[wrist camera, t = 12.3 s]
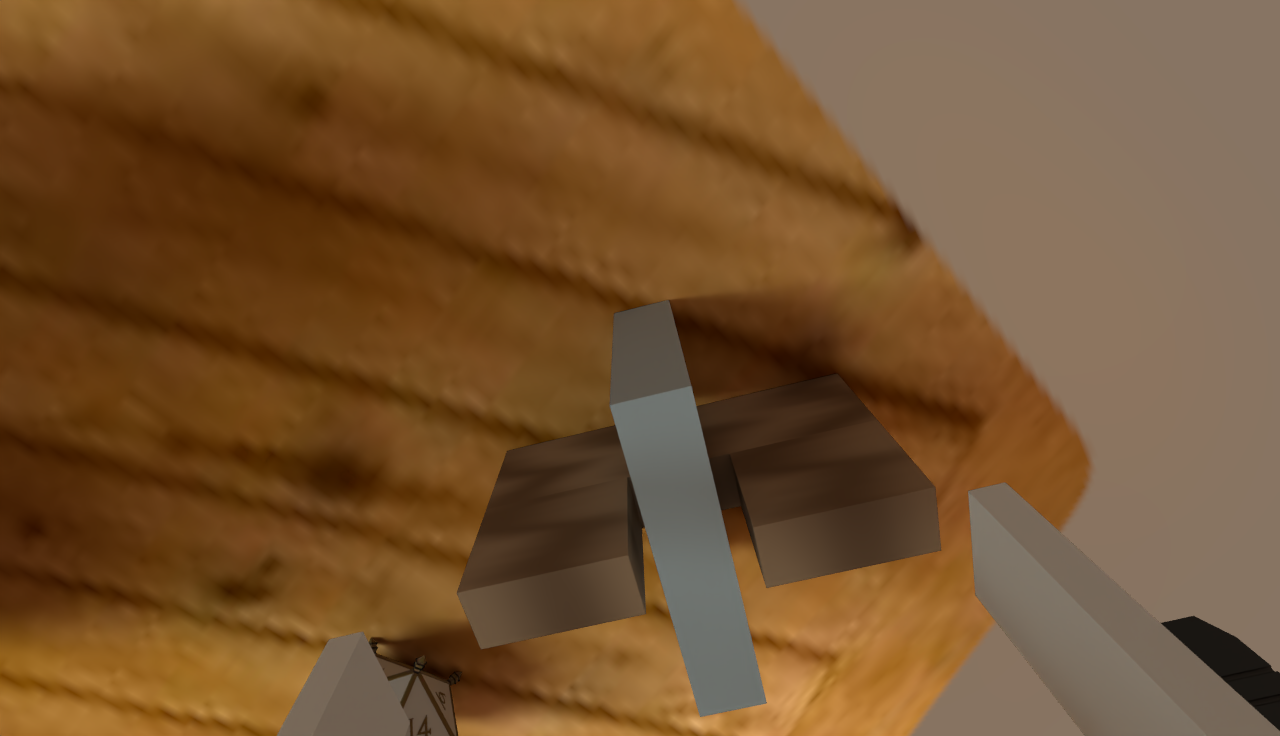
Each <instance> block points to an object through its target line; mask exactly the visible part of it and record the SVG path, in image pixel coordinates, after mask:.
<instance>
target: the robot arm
mask: <svg viewBox="0 0 1280 736" xmlns="http://www.w3.org/2000/svg"><path fill="white" fill-rule="evenodd" d="M968 495H969V509H970V524H971V538H972V553H973V567H974V582H975V595H976V596H977V598H978V599H979V600H980V602H981V603H982V604H983V605H984V607H985V608H986V609H987V611H988V612H989V613H990V614H991V616H992V617H993V618H994V620H995V621H996V622H997V623H998V625H999V626H1000V627H1001V628H1002V630H1003V631H1004V632H1005V634H1006V635H1007V636H1008V638H1009V639H1010V640H1011V641H1012V643H1013V644H1014V645H1015V647H1016V648H1017V649H1018V650H1019V652H1020V653H1021V654H1022V656H1023V657H1024V658H1025V659H1026V661H1027V662H1028V663H1029V665H1030V666H1031V667H1032V669H1033V670H1034V671H1035V672H1036V674H1037V675H1038V676H1039V678H1040V679H1041V680H1042V681H1043V683H1044V684H1045V685H1046V687H1047V688H1048V689H1049V690H1050V692H1051V693H1052V694H1053V696H1054V697H1055V698H1056V699H1057V701H1058V702H1059V703H1060V705H1061V706H1062V707H1063V708H1064V710H1065V711H1066V712H1067V714H1068V715H1069V716H1070V717H1071V719H1072V720H1073V721H1074V723H1075V724H1076V725H1077V726H1078V728H1079V729H1080V730H1081V732H1082V733H1083V734H1084V735H1085V736H1280V673H1279V672H1278V671H1277V672H1275V671H1273V670H1272V668H1271V665H1269V664H1268V663H1267V662H1266V661H1265V660H1263V659H1262V658H1261V657H1260V656H1258V655H1257V654H1256V653H1255V652H1254V651H1252V650H1251V649H1250V648H1249V647H1247V646H1246V645H1245V644H1244V643H1243V642H1241V641H1240V640H1239V639H1238V638H1236V637H1235V636H1233V635H1231V634H1229V633H1227V632H1225V631H1223V630H1221V629H1219V628H1217V627H1215V626H1213V625H1211V624H1208V623H1207V622H1205V621H1203V620H1201V619H1199V618H1197V617H1195V616H1191V617H1186V618H1182V619H1178V620H1173V621H1169V622H1164V623H1160V622H1159V621H1158V620H1157V619H1155V618H1154V617H1153V616H1152V615H1151V614H1150V613H1149V612H1148V611H1147V610H1145V609H1144V608H1143V607H1142V606H1141V605H1140V604H1139V603H1138V602H1136V601H1135V600H1134V599H1133V598H1132V597H1131V596H1130V595H1129V594H1128V593H1127V592H1126V591H1124V590H1123V589H1122V588H1121V587H1120V586H1119V585H1118V584H1117V583H1116V582H1115V581H1113V580H1112V579H1111V578H1110V577H1109V576H1108V575H1107V574H1106V573H1105V572H1104V571H1102V570H1101V569H1100V568H1099V567H1098V566H1097V565H1096V564H1095V563H1094V562H1093V561H1091V560H1090V559H1089V558H1088V557H1087V556H1086V555H1085V554H1084V553H1083V552H1082V551H1080V550H1079V549H1078V548H1077V547H1076V546H1075V545H1074V544H1073V543H1072V542H1070V541H1069V540H1068V539H1067V538H1066V537H1065V536H1064V535H1063V534H1062V533H1061V532H1059V531H1058V530H1057V529H1056V528H1055V527H1054V526H1053V525H1052V524H1051V523H1050V522H1048V521H1047V520H1046V519H1045V518H1044V517H1043V516H1042V515H1041V514H1040V513H1038V512H1037V511H1036V510H1035V509H1034V508H1033V507H1032V506H1031V505H1030V504H1029V503H1027V502H1026V501H1025V500H1024V499H1023V498H1022V497H1021V496H1020V495H1019V494H1018V493H1016V492H1015V491H1014V490H1013V489H1012V488H1011V487H1010V486H1009V485H1008V484H1006V483H1000V484H996V485H992V486H987V487H983V488H979V489H974V490H970V491H968ZM409 723H410V721H409V719H408V718H407V716H406V714H405V712H404V710H403V708H402V706H401V704H400V702H399V700H398V698H397V696H396V694H395V693H394V691H393V689H392V687H391V685H390V683H389V681H388V679H387V677H386V675H385V673H384V671H383V669H382V667H381V666H380V664H379V662H378V660H377V658H376V656H375V654H374V652H373V650H372V648H371V646H370V644H369V642H368V641H367V639H366V637H365V635H364V633H363V632H359V633H355V634H351V635H346V636H342V637H338V638H333V639H329V641H328V643H327V644H326V646H325V648H324V650H323V652H322V654H321V655H320V657H319V659H318V661H317V663H316V665H315V666H314V668H313V670H312V672H311V674H310V676H309V678H308V679H307V681H306V683H305V685H304V687H303V689H302V690H301V692H300V694H299V696H298V698H297V700H296V701H295V703H294V705H293V707H292V709H291V711H290V712H289V714H288V716H287V718H286V720H285V722H284V724H283V725H282V727H281V729H280V731H279V733H278V735H277V736H405V735H406V732H407V729H408V726H409Z"/></svg>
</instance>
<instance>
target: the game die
mask: <svg viewBox="0 0 1280 736" xmlns="http://www.w3.org/2000/svg"><path fill="white" fill-rule="evenodd" d="M369 644H370V646H371V648H372V650H373V652H374V654H375V656H376V658H377V660H378V662H379V664H380V666H381V667H382V669H383V671H384V673H385V675H386V677H387V679H388V681H389V683H390V685H391V687H392V689H393V691H394V693H395V694H396V696H397V698H398V700H399V702H400V704H401V706H402V708H403V710H404V712H405V714H406V716H407V718H408V719H409V721H410V723H409V726H408V729H407V732H406V735H405V736H458V731H457V725H456V718H455V712H454V706H453V700H452V693H451V687H450V686H451V685H452V684H456V682H457V681H460V680H459V679H460V676H461V673H462V672H456V673H455V672H454V673H453V674H452V675H450V677H449V679H448V680H445V679H443V678H440V677H438V676H435V675H433V674H430V673H428V672H425V671H423V670H422V669H423V668H424V667H425V666H424V665H425V664H426V663H427V662H426V660H425V655H424V656H422V657H420V658H416V662H414V667H412V666H409V665H407V664H404V663H401V662H398V661H395V660H393V659H390V658H387V657H384V656H382V655H379V654H377V653H376V650H377V648H378V647H377V642H375V641H374V640H373V639H372V638H371V639H370V641H369Z"/></svg>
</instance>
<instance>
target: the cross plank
mask: <svg viewBox="0 0 1280 736" xmlns="http://www.w3.org/2000/svg"><path fill="white" fill-rule="evenodd" d="M610 408H611V411H612V415H613V418H614V422H615V425H616V429H617V432H618V436H619V439H620V442H621V446H622V449H623V453H624V456H625V460H626V463H627V467H628V470H629V473H630V477H631V480H632V484H633V487H634V491H635V494H636V498H637V501H638V504H639V508H640V511H641V515H642V518H643V522H644V525H645V529H646V532H647V535H648V539H649V542H650V546H651V549H652V553H653V556H654V560H655V563H656V566H657V570H658V573H659V577H660V580H661V584H662V587H663V591H664V594H665V597H666V601H667V604H668V608H669V611H670V615H671V618H672V622H673V625H674V628H675V632H676V635H677V639H678V642H679V646H680V649H681V652H682V656H683V659H684V663H685V666H686V670H687V673H688V677H689V680H690V683H691V687H692V690H693V694H694V697H695V701H696V704H697V708H698V711H699V714H700V717H702V716H707V715H712V714H717V713H722V712H727V711H732V710H736V709H741V708H746V707H751V706H756V705H761V704H766V703H767V702H766V698H765V694H764V690H763V686H762V681H761V677H760V673H759V669H758V664H757V660H756V656H755V652H754V648H753V643H752V639H751V635H750V631H749V627H748V622H747V618H746V614H745V610H744V605H743V601H742V597H741V593H740V589H739V584H738V580H737V576H736V572H735V568H734V563H733V559H732V555H731V551H730V546H729V542H728V538H727V534H726V530H725V525H724V521H723V517H722V513H721V509H720V504H719V500H718V496H717V492H716V487H715V483H714V479H713V475H712V471H711V466H710V462H709V458H708V454H707V450H706V445H705V441H704V437H703V433H702V428H701V424H700V420H699V416H698V412H697V407H696V403H695V399H694V395H693V391H692V386H691V382H690V379H689V375H688V371H687V367H686V363H685V360H684V356H683V352H682V348H681V344H680V341H679V337H678V333H677V329H676V325H675V322H674V318H673V314H672V310H671V306H670V302H669V300H666V301H662V302H658V303H654V304H650V305H646V306H642V307H638V308H634V309H630V310H626V311H622V312H618V313H614V325H613V346H612V367H611V389H610Z"/></svg>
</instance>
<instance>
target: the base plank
mask: <svg viewBox="0 0 1280 736" xmlns="http://www.w3.org/2000/svg"><path fill="white" fill-rule="evenodd" d="M696 407H697V412H698V416H699V420H700V424H701V428H702V433H703V437H704V441H705V445H706V450H707V454H708V458H709V462H710V466H711V471H712V475H713V479H714V483H715V487H716V492H717V496H718V500H719V504H720V509H721V510H725V509H729V508H734V507H738V506H741V507H742V510H743V514H744V517H745V520H746V523H747V526H748V530H749V533H750V536H751V539H752V543H753V546H754V549H755V552H756V555H757V559H758V562H759V565H760V568H761V572H762V575H763V578H764V581H765V584H766V588H769V587H774V586H778V585H783V584H788V583H792V582H797V581H802V580H806V579H811V578H816V577H820V576H825V575H830V574H834V573H839V572H843V571H848V570H853V569H857V568H862V567H867V566H871V565H876V564H881V563H885V562H890V561H895V560H899V559H904V558H909V557H913V556H918V555H923V554H927V553H932V552H936V551H941V542H940V532H939V521H938V510H937V500H936V489H935V486H934V485H933V484H932V483H931V482H930V480H929V479H928V478H927V477H926V476H925V475H924V473H923V472H922V471H921V470H920V469H919V468H918V467H917V465H916V464H915V463H914V462H913V461H912V460H911V458H910V457H909V456H908V455H907V454H906V453H905V451H904V450H903V449H902V448H901V447H900V446H899V444H898V443H897V442H896V441H895V440H894V439H893V438H892V436H891V435H890V434H889V433H888V432H887V431H886V429H885V428H884V427H883V426H882V425H881V424H880V422H879V421H878V420H877V419H876V418H875V417H874V416H873V414H872V413H871V412H870V411H869V410H868V409H867V407H866V406H865V405H864V404H863V403H862V402H861V400H860V399H859V398H858V397H857V396H856V395H855V393H854V392H853V391H852V390H851V389H850V388H849V387H848V385H847V384H846V383H845V382H844V381H843V380H842V378H841V377H840V376H839V375H838V374H833V375H829V376H824V377H820V378H816V379H812V380H807V381H803V382H799V383H795V384H790V385H786V386H782V387H777V388H773V389H769V390H765V391H760V392H756V393H752V394H748V395H743V396H739V397H735V398H731V399H726V400H722V401H718V402H714V403H709V404H705V405H701V406H696ZM644 527H645V525H644V522H643V518H642V515H641V511H640V508H639V504H638V501H637V498H636V494H635V491H634V487H633V484H632V480H631V477H630V473H629V470H628V467H627V463H626V460H625V456H624V453H623V449H622V446H621V442H620V439H619V436H618V432H617V429H616V426H611V427H607V428H603V429H598V430H594V431H590V432H586V433H581V434H577V435H573V436H569V437H564V438H560V439H556V440H552V441H547V442H543V443H539V444H535V445H530V446H526V447H522V448H518V449H513V450H509V451H507V453H506V456H505V458H504V461H503V464H502V467H501V470H500V473H499V475H498V478H497V481H496V484H495V487H494V489H493V492H492V495H491V498H490V501H489V503H488V506H487V509H486V512H485V515H484V518H483V520H482V523H481V526H480V529H479V532H478V534H477V537H476V540H475V543H474V546H473V548H472V551H471V554H470V557H469V560H468V563H467V565H466V568H465V571H464V574H463V577H462V579H461V582H460V585H459V588H458V591H457V595H458V597H459V600H460V602H461V604H462V607H463V609H464V611H465V614H466V616H467V618H468V620H469V623H470V625H471V627H472V630H473V632H474V634H475V637H476V639H477V641H478V644H479V646H480V648H481V649H485V648H490V647H495V646H499V645H504V644H509V643H513V642H518V641H523V640H527V639H532V638H537V637H541V636H546V635H551V634H555V633H560V632H564V631H569V630H574V629H578V628H583V627H588V626H592V625H597V624H602V623H606V622H611V621H616V620H620V619H625V618H630V617H634V616H639V615H644V614H646V606H645V585H644V563H643V542H642V528H644Z"/></svg>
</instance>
